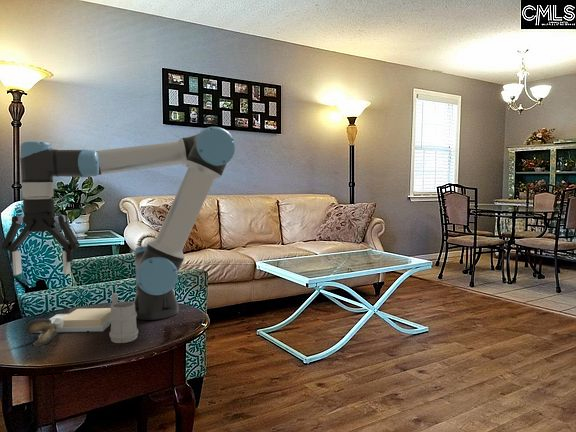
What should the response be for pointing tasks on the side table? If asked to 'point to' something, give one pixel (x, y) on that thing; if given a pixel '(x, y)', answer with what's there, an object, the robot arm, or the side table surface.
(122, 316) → the mug
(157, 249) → the robot arm
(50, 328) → the eagle figurine
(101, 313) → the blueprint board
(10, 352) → the side table surface
